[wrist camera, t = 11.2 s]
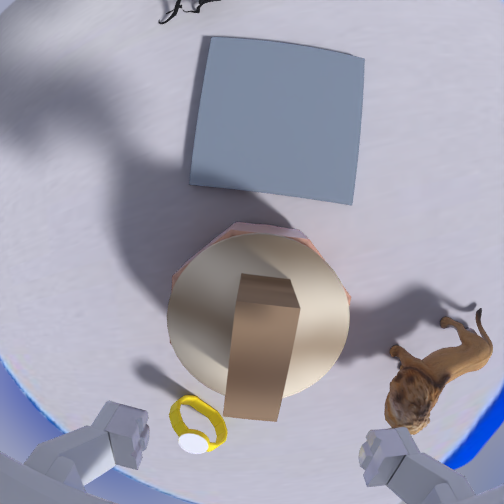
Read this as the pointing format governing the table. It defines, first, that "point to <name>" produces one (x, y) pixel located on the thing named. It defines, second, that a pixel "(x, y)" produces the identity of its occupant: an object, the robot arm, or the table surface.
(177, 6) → the creature
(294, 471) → the table surface
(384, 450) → the robot arm
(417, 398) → the lion figurine
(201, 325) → the lid
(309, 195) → the mat
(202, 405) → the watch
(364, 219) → the table surface
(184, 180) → the table surface
